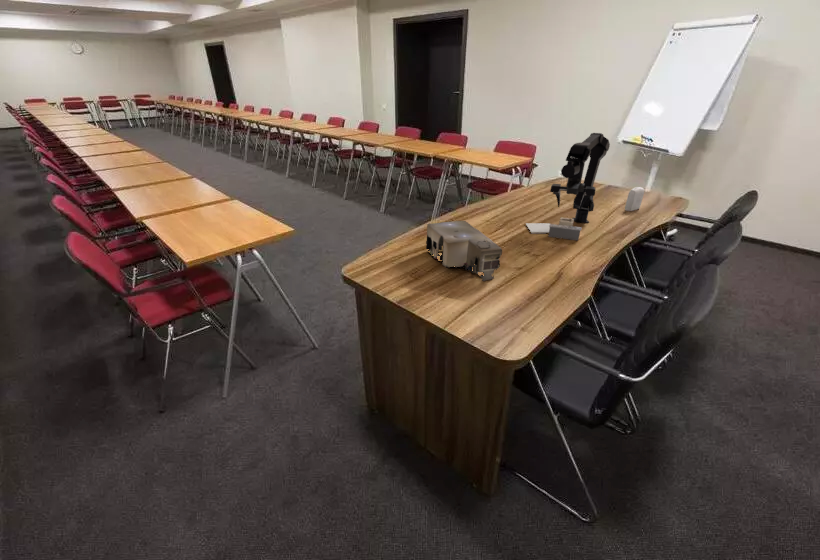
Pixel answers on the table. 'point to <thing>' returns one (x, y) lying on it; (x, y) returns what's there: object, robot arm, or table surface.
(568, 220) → the letter cube
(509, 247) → the table surface
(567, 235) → the screen
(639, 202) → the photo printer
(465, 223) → the projector
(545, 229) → the mat
